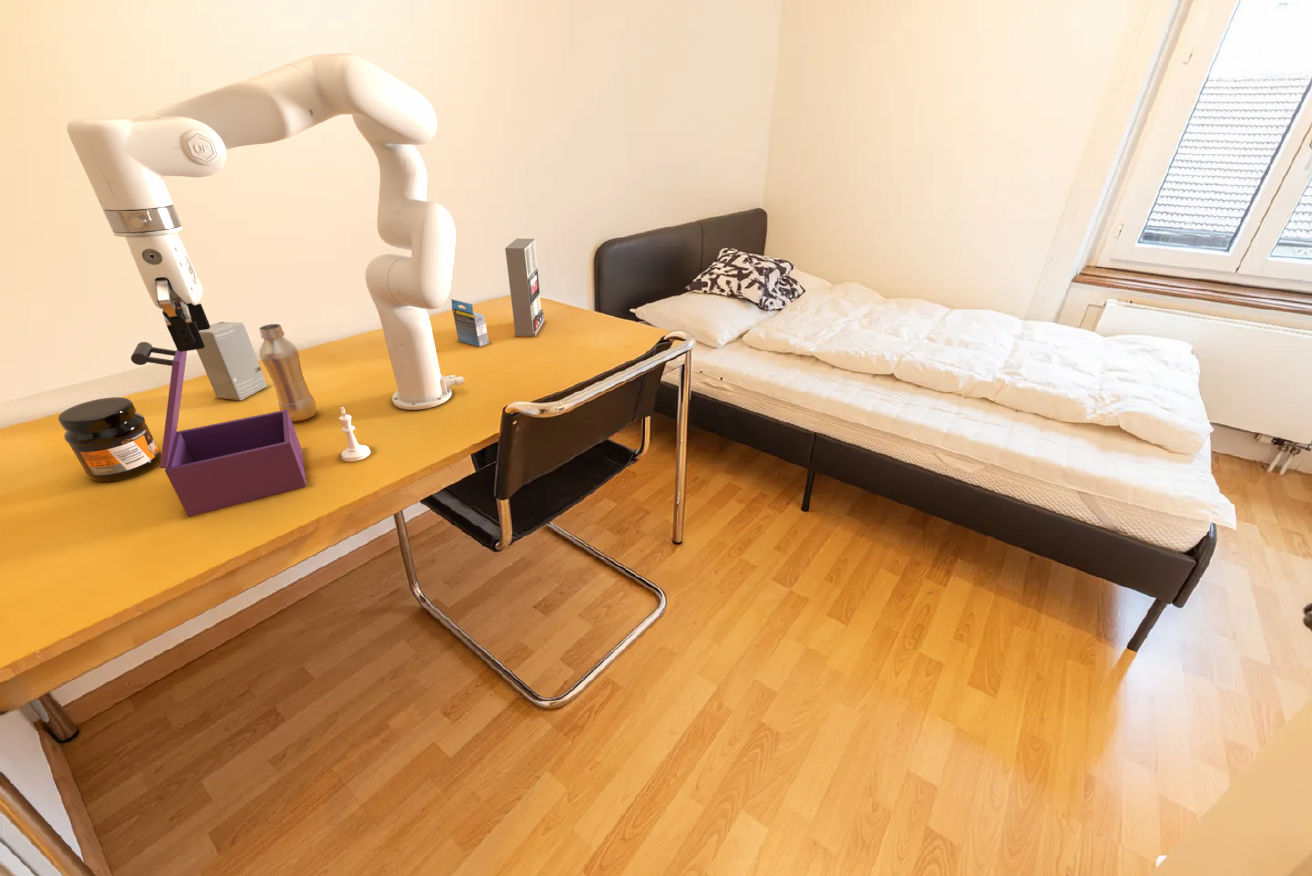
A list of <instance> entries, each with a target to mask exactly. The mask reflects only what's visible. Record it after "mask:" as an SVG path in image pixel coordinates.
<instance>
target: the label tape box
mask: <svg viewBox="0 0 1312 876" xmlns="http://www.w3.org/2000/svg"><path fill="white" fill-rule="evenodd" d="M460 306H462V307H460ZM463 307H464V308H463ZM451 310H452V315H453V320H454V325H455V329H456V335H457V340H458V342H460V343H463V344H468V345H472V346H475V347H479V348H481V347H484V346H487V345H488V344H489V343H490V340H489V335H488V330H487V323H486V318H485V314H482V313H478V312H474V307H473V304H472V303H469V302H465V301H461V300H457V299H453V298H451Z"/></svg>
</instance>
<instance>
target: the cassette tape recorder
mask: <svg viewBox="0 0 1312 876" xmlns="http://www.w3.org/2000/svg"><path fill="white" fill-rule="evenodd" d="M504 250H505V257H506V266H507V275H508V282H509V283H508V284H509V290H510V291H509V292H510V300H511V309H512V316H513V324H514V336H515V337H532V338H534V337H537V334H538V332H539V331H540V329H541V327H542V326H543V324H544V323H545V315H544V309H543V308H542V305H541V296H540V295H541V290H540V280H539V269H538V261H537V251H536V239H535V238H515V239H514V240H513V241H512V242H511V243H509V244H508V245H507V246H506V247H505V248H504Z"/></svg>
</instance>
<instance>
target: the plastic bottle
mask: <svg viewBox="0 0 1312 876" xmlns="http://www.w3.org/2000/svg"><path fill="white" fill-rule="evenodd" d="M259 333H260V338H261V339H262V340H263V342H262V344H261V346H260V349H259V358H260V361H261V362H262V364H263V365H264V367H265V369H266V371H267V372H268V374H269V377H270V379H271V381H272V383H273V386H274V388H275V389H274V390H275V393H276V397H277V401H278V407H279V411H283V410H288V413H289V415H290V418H291V421H292V422H301V421H305V420H308V419H310V418H312V417H314V416H315V415H316V413H317V410H318V408H317V402H316V400H315V398H314V396H313V395H312V393H311V392H310V389H309V388H308V384H307V383H306V381H305V378H304V374H303V370H302V367H301V361H300V355H299V350H298V348H297V346H295V344H294V343H293V342H291V341H290V340H289V339H287V338H286V337H285V336H284V335H285V331H284V330H283V326H282V325H281V324H279V323H271V324H265V325H262V326H261V327H259Z"/></svg>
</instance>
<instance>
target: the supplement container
mask: <svg viewBox="0 0 1312 876" xmlns="http://www.w3.org/2000/svg"><path fill="white" fill-rule="evenodd" d="M57 420H58V422H59V423H60V424H59V425H61V427H62V429H63V430H65V431H64V434H63V437H64V440H65V442H66V443H67V444H68V445H69V446H70V448H71V450H72V451H73V453H74V455H75V457H76V458H77V460H78V462H79V463H80V465H81V466H82V468H83V470H84V473H85V474H86V476H87V477H88V478H90V479H91V480H94V481H97V482H115V481H121V480H126V479H129V478H132V477H136V476H139V475H141V474H143V473H146V472H148V471H150V470H151V469H152V468H154V467H155V466H156V465H157V464H158V463H159V462H161V455H162V450H161V449H160V448H159V447H158V445H157V442H156V441H155V438H154V437H153V436H154V435H152V432H151V431H150V428H149V427H148V424H147V422H146V418H145V417H144V415H143V414H141V413H139V412H137V409H136V407H135V405H134V402H133V401H132V400H131V399H130V398H127V397H121V396H119V397H117V396H115V397H105V398H103V397H102V398H97V399H93V400H89V401H85V402H82V403H79V404H76V405H74V406H72V407H69V408H67V409H66V410H64V411H62V412H61V413H60V414H59V415H58V416H57Z"/></svg>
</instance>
